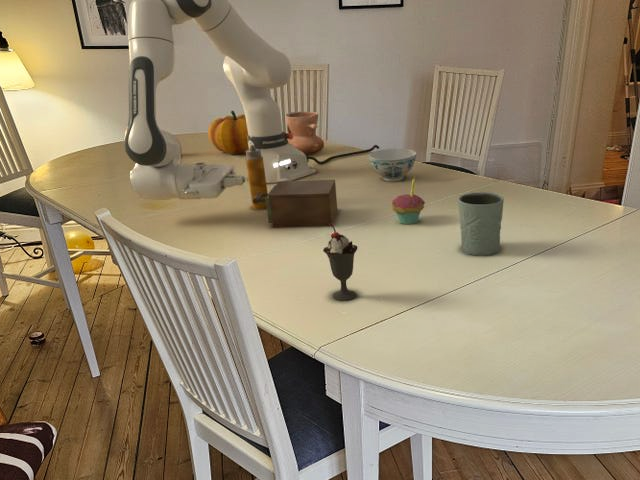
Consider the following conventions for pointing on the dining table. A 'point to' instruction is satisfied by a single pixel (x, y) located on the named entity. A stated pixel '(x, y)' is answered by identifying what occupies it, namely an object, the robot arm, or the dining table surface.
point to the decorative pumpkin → (229, 134)
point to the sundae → (341, 263)
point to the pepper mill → (256, 175)
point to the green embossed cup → (480, 222)
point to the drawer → (258, 199)
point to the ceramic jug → (304, 132)
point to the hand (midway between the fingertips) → (243, 180)
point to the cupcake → (408, 206)
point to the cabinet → (303, 203)
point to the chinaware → (392, 163)
